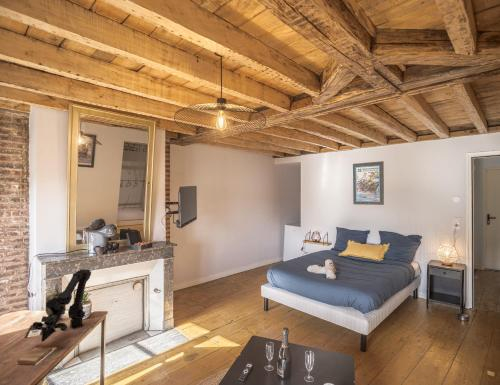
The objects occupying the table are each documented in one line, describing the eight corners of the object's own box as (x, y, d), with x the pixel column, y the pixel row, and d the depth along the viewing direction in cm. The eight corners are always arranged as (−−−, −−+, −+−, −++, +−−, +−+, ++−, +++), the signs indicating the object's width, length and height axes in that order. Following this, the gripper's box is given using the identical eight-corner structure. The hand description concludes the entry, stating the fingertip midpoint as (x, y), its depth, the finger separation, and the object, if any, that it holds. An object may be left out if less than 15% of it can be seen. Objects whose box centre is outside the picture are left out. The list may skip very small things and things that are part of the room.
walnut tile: (36, 346, 168) (17, 360, 154) (52, 347, 169) (34, 361, 155) (36, 350, 168) (17, 364, 154) (52, 350, 169) (34, 364, 155)
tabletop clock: (64, 320, 208) (66, 286, 208) (50, 324, 201) (52, 289, 201) (58, 314, 217) (60, 281, 218) (44, 317, 211) (46, 284, 211)
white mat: (38, 347, 172) (38, 347, 172) (57, 348, 172) (57, 347, 172) (16, 364, 155) (16, 363, 155) (36, 365, 155) (36, 364, 155)
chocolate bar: (46, 323, 202) (41, 334, 186) (46, 324, 202) (41, 336, 186) (30, 325, 197) (24, 337, 181) (30, 326, 197) (24, 338, 181)
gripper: (34, 308, 172) (19, 335, 161) (65, 310, 172) (52, 337, 161) (43, 316, 180) (29, 342, 169) (72, 317, 180) (60, 343, 169)
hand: (42, 341), depth 167 cm, fingers closed
